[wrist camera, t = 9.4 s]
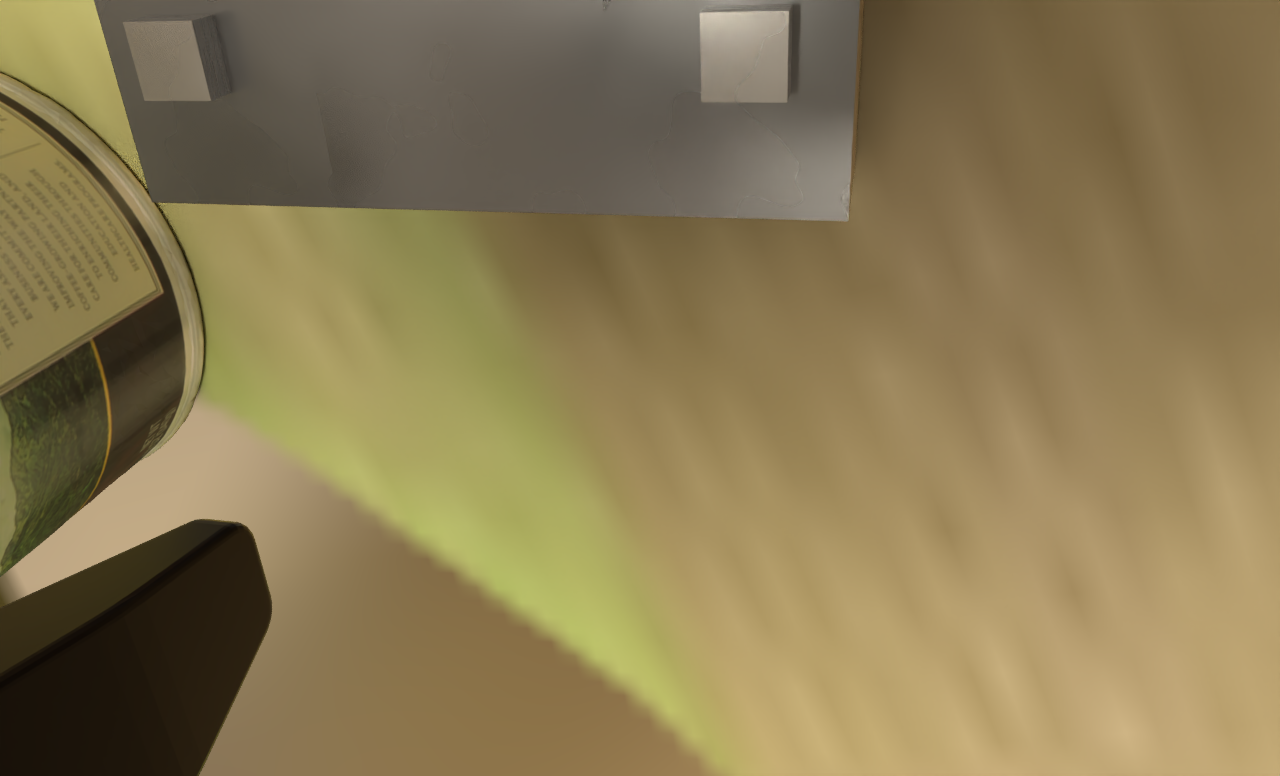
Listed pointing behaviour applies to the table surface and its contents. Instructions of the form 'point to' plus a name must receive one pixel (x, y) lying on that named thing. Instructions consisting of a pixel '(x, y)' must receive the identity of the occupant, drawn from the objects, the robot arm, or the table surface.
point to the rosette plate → (495, 104)
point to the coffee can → (81, 321)
